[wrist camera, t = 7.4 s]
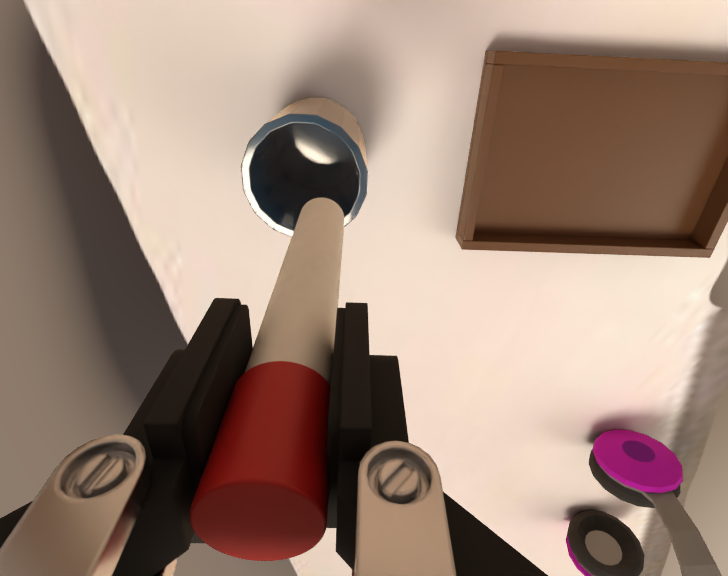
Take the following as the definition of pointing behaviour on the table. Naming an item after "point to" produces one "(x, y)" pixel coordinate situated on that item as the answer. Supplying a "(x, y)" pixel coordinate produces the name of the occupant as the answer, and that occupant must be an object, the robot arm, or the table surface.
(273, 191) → the pen cup
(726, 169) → the tray
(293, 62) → the table surface
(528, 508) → the table surface
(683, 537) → the headphones
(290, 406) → the marker
